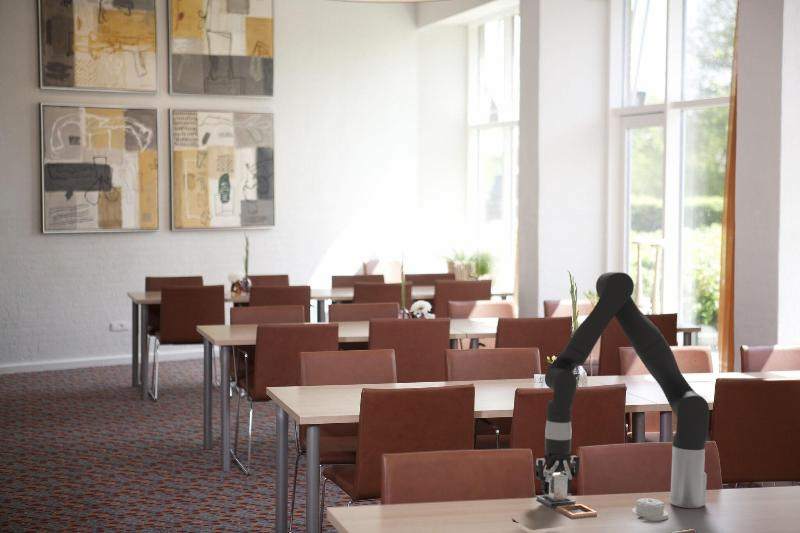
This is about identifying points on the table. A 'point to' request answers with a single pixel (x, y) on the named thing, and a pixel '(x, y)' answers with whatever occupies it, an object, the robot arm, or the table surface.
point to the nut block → (557, 488)
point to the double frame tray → (569, 508)
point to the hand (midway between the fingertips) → (556, 492)
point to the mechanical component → (650, 509)
